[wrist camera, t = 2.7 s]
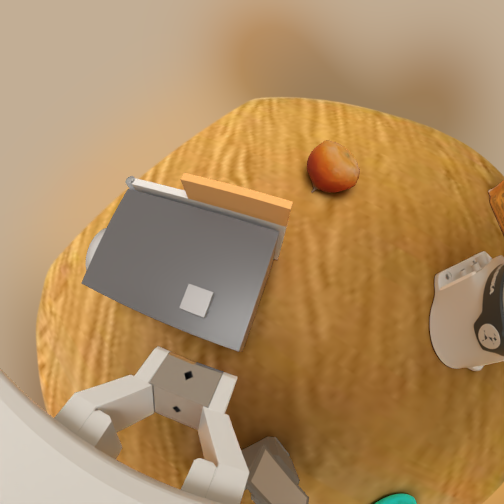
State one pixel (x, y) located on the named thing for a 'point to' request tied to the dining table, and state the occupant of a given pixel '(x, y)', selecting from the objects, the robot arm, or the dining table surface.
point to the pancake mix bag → (498, 203)
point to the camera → (272, 474)
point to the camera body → (183, 266)
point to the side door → (224, 201)
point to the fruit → (332, 167)
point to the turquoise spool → (398, 499)
